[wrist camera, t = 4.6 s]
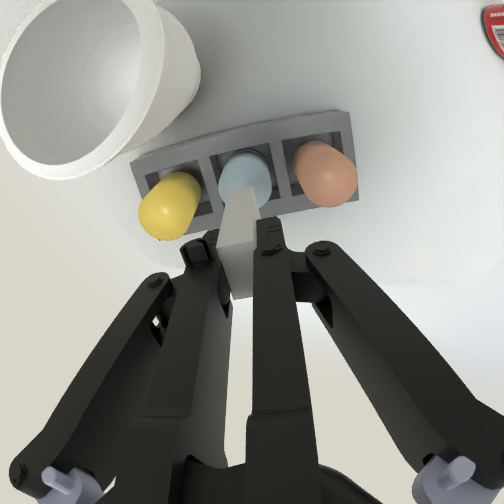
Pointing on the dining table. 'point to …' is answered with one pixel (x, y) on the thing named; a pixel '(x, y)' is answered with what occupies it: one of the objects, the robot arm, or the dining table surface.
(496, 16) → the soda can
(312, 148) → the orange brown egg
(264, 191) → the light blue rounded piece
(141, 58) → the jar
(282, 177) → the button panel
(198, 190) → the mustard button
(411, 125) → the dining table surface
